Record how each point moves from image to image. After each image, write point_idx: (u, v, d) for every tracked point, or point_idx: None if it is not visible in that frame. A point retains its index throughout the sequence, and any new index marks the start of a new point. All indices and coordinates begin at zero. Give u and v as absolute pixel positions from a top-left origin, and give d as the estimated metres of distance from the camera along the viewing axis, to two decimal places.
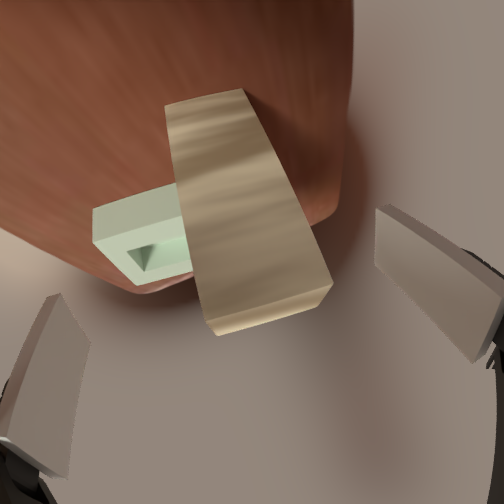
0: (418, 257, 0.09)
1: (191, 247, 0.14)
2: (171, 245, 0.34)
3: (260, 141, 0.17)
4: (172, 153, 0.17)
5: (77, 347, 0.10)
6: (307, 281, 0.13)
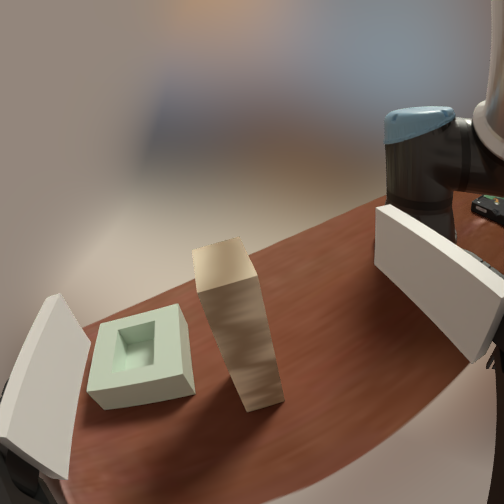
0: (418, 257, 0.09)
1: None
2: (123, 363, 0.33)
3: None
4: None
5: (77, 347, 0.10)
6: None
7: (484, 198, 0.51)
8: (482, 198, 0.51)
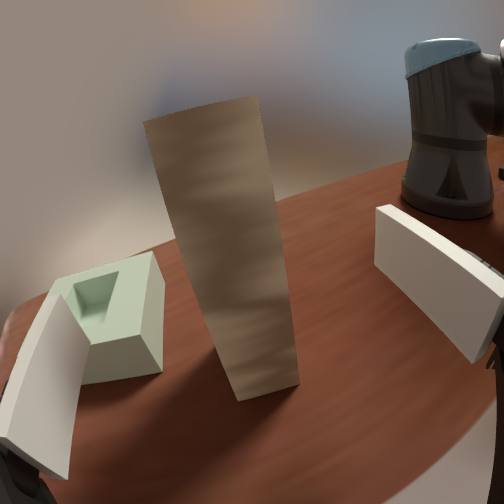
0: (417, 257, 0.09)
1: None
2: None
3: None
4: None
5: (77, 347, 0.10)
6: None
7: None
8: None
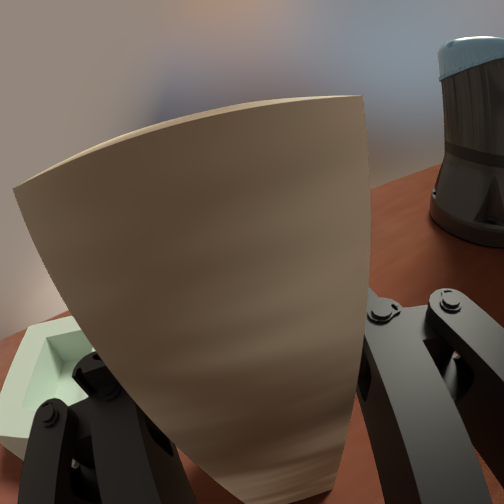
0: None
1: None
2: (50, 391, 0.16)
3: None
4: None
5: None
6: None
7: None
8: None
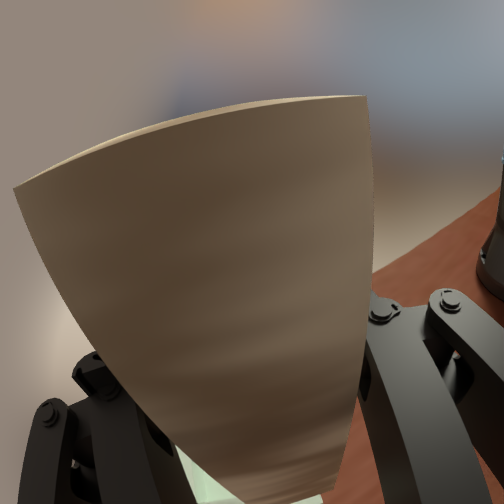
0: None
1: None
2: (200, 472, 0.19)
3: None
4: None
5: None
6: None
7: None
8: None
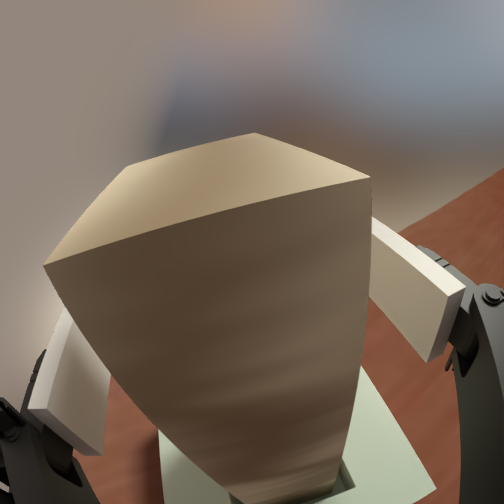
0: (372, 255, 0.10)
1: None
2: None
3: None
4: None
5: None
6: None
7: None
8: None
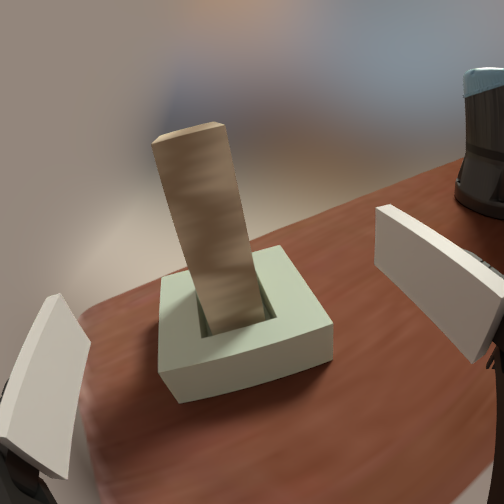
0: (418, 257, 0.09)
1: None
2: (205, 328, 0.24)
3: None
4: None
5: (77, 347, 0.10)
6: None
7: None
8: None
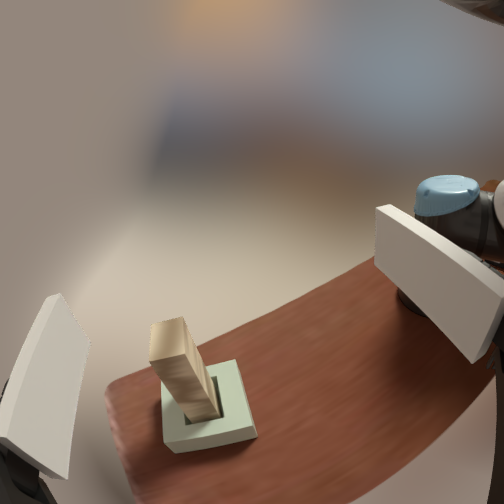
0: (417, 257, 0.09)
1: None
2: None
3: (210, 398, 0.33)
4: (207, 371, 0.38)
5: (77, 347, 0.10)
6: (185, 348, 0.29)
7: None
8: None
